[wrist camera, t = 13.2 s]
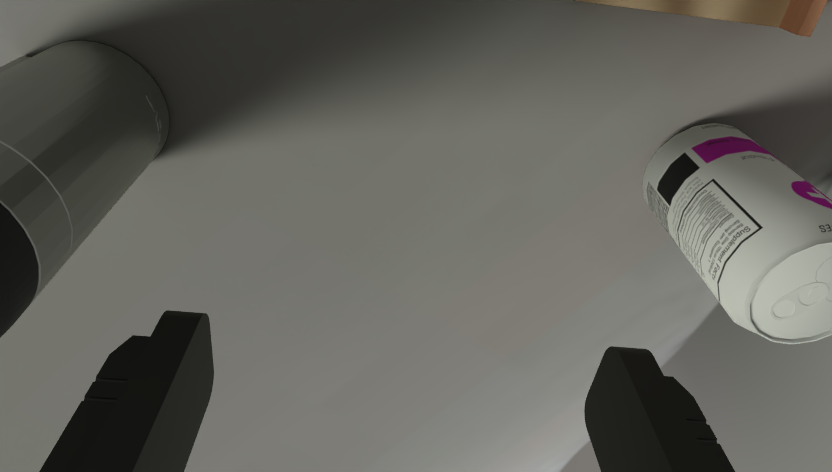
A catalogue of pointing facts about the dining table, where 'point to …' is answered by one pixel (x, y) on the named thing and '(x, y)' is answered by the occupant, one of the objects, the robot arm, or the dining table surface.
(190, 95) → the dining table surface
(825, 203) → the supplement can
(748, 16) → the wooden plank
